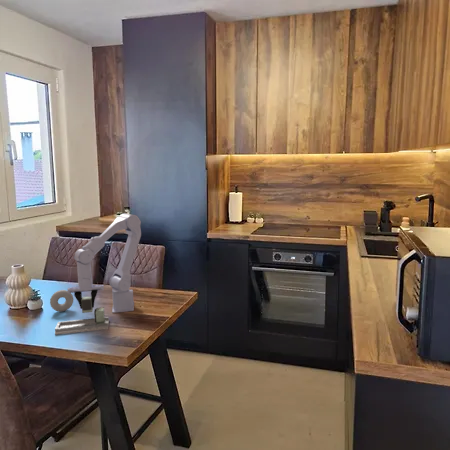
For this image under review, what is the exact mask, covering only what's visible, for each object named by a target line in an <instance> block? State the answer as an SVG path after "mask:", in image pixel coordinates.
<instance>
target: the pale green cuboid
mask: <svg viewBox="0 0 450 450" xmlns="http://www.w3.org/2000/svg"><path fill="white" fill-rule="evenodd" d="M81 302H82V309H81V312H82V314H85V313H92V312H93V310H94V308H92V298H91V296H82V299H81Z"/></svg>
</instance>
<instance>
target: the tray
mask: <svg viewBox="0 0 450 450" xmlns="http://www.w3.org/2000/svg"><path fill="white" fill-rule="evenodd" d="M109 325H110V319H109V316H105V307H102V306H101V307H96V308H95V309H94V317H92V318H84V319H74V320H65V321H58V322H57V323H56V326H55V328H54V335H65V334H74V333H85V332H93V331H101V330H102V331H104V330H109Z"/></svg>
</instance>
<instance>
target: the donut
mask: <svg viewBox="0 0 450 450" xmlns="http://www.w3.org/2000/svg"><path fill="white" fill-rule="evenodd" d="M62 298H63V299H65V302H64V303H59V300H60V299H62ZM73 304H74V296H73V294H72V293H68V290H65V289H61V290H57V291H55V292H54V293H52V295H51V297H50V300H49V305H50V307H51V308H52V309H53V310H54V311H56V312H65V311H68V310H70V308H71V307H72V306H73Z"/></svg>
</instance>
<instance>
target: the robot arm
mask: <svg viewBox="0 0 450 450" xmlns="http://www.w3.org/2000/svg"><path fill="white" fill-rule="evenodd" d="M141 224H142V221H141V219H140V218H139V216H138V215H137V214H130V213H127V212H123V213H121V214H120V215H119V216H117V217H116V218H115V219H114V221H113V222H112V223H110V225H109V226H107V228H106V229H105V230H103V232H102V233H101V234H100V235H98V236H92V237H91V238H90V240H89V241H88V242H87V243H86V244H84V245H83V246H81V247H82V248H79V249H77V250H76V251H75V254H74V256H73V259H74V260H75V261H76V270H77V283H78V285H77V286H72V287H68V288H67V291H68V293H71V294H72V293H74V296H73V297H74V298H75V299H76V300H77V302H78V304H79V308H80V310H82V302H81V299H82V297H83V292H84V293H85V292H90V297H91V298H92V308H93V309H94V308H95V301H96V296H97V295H98V291H104V290H105V287H104V286H105V285H104V284H93V273H92V262H93V259H94V256H95V255H97V254H98V252H100V251H101V250H102V249H103V248H104V247H105V245H106V241H108V240H109V239H110V238H111V237H112V236H114V235H115V234H116V233H117V232H118V231H122V230H123V231H124V230H125V232H126V233H127V235H128V236H127V239H126V243H125V245H124V249H123V252H122V255H121V258H120V261H119V264H118V267H117V269H115V270H114V271H113V274H112V276H111V277H110V278H109V282H108V283H109V286H110V287H111V289H112V290H111V294H112V296H111V297H112V311H111V313H113V314H115V313H124V312H133V311H134V310H135V308H134V306H135V301H134V290H133V289H131V285H132V283H131V279H132V275H131V269H132V265H133V262H134V258H135V255H136V253H137V249H138V246H139V243H140V240H141V237H142V230H141Z"/></svg>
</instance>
